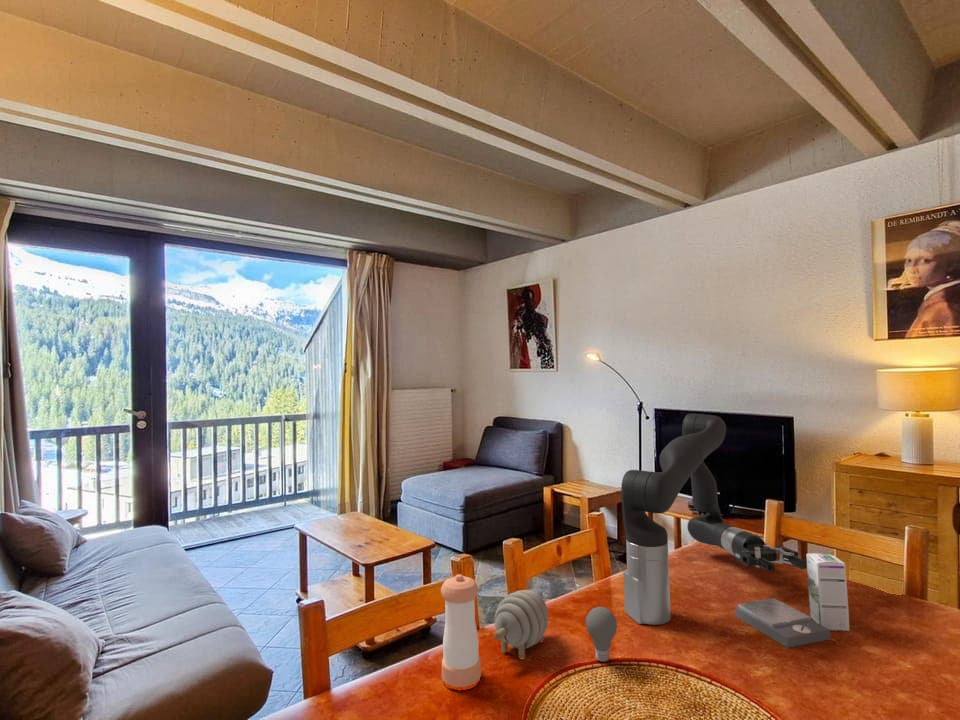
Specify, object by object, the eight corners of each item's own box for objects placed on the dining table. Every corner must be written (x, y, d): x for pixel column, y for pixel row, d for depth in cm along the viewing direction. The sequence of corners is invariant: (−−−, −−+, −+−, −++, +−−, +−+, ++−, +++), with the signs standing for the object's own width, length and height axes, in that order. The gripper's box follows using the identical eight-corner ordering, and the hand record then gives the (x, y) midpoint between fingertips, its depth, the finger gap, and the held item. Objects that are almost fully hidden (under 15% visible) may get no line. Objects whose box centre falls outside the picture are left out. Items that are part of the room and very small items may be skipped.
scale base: (787, 647, 100) (786, 636, 100) (735, 616, 114) (735, 605, 114) (830, 639, 103) (829, 628, 103) (774, 609, 117) (774, 599, 117)
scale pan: (772, 627, 104) (772, 624, 105) (738, 607, 114) (738, 604, 114) (810, 620, 107) (810, 617, 107) (774, 601, 116) (773, 598, 116)
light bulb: (596, 671, 94) (594, 617, 94) (581, 654, 100) (580, 603, 100) (624, 665, 96) (622, 612, 96) (608, 649, 101) (606, 599, 102)
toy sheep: (560, 636, 107) (559, 584, 107) (525, 677, 93) (524, 617, 93) (517, 624, 113) (516, 574, 113) (477, 661, 98) (476, 604, 99)
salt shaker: (436, 688, 90) (434, 581, 91) (448, 665, 97) (446, 566, 98) (475, 693, 88) (473, 584, 89) (484, 670, 95) (482, 569, 96)
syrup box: (850, 631, 106) (847, 563, 106) (820, 629, 107) (816, 561, 108) (837, 618, 112) (834, 553, 112) (808, 617, 113) (805, 552, 113)
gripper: (718, 532, 135) (761, 553, 119) (765, 528, 138) (813, 548, 122) (719, 560, 135) (763, 585, 119) (766, 556, 137) (815, 579, 121)
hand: (788, 566), depth 120 cm, fingers open, 8 cm apart
